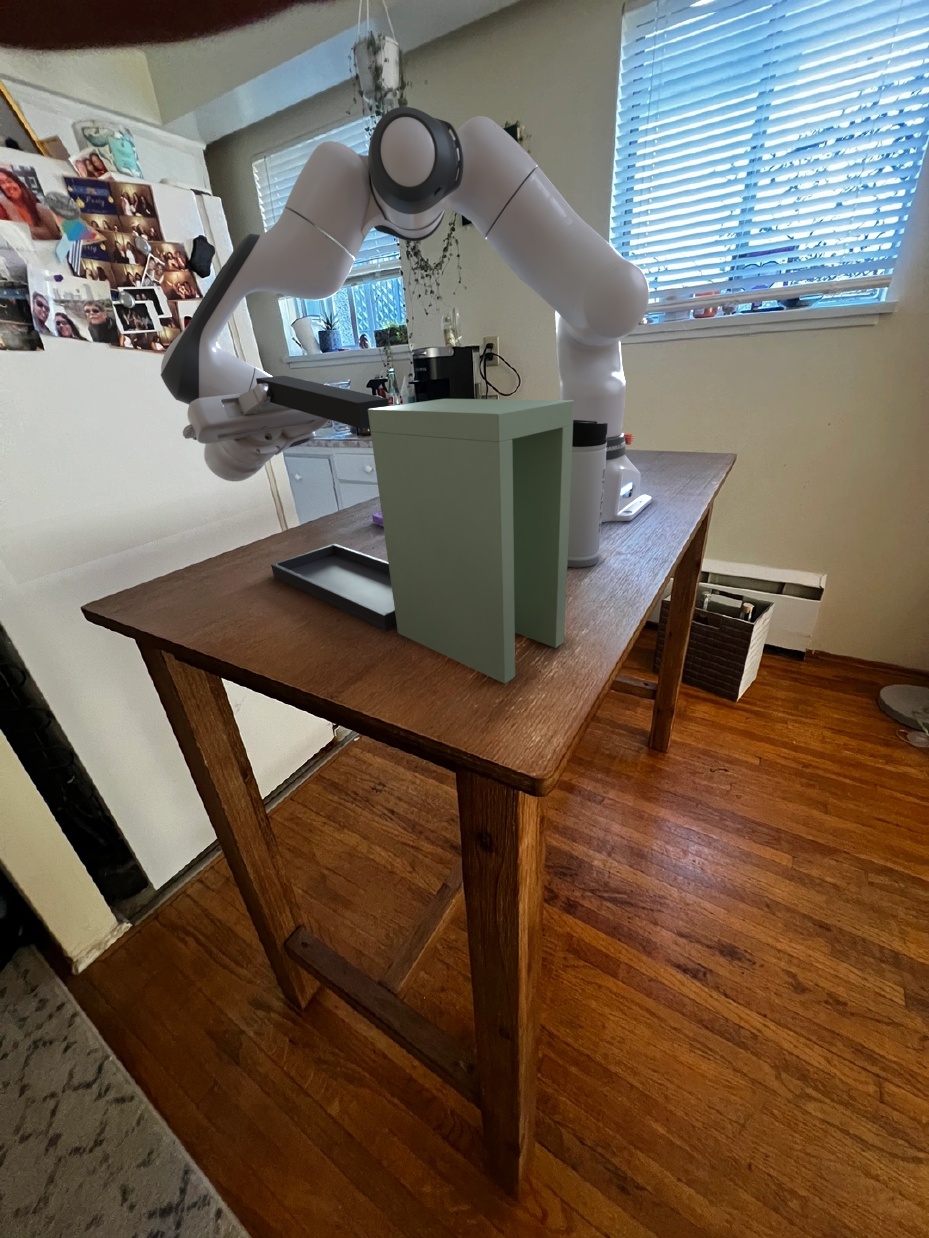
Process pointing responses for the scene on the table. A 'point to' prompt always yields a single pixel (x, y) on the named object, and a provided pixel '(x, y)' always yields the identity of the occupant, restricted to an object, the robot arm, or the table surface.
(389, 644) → the table surface
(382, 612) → the shallow dark gray tray
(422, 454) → the stool
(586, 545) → the travel mug
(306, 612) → the table surface
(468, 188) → the robot arm
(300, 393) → the black pad
